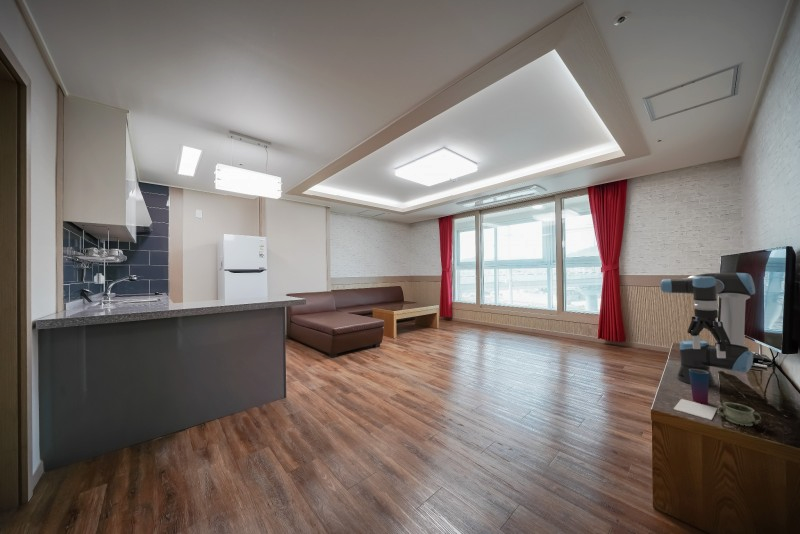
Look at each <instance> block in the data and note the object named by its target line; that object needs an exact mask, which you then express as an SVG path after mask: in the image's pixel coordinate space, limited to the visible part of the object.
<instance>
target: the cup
mask: <svg viewBox="0 0 800 534" xmlns="http://www.w3.org/2000/svg"><path fill="white" fill-rule="evenodd" d="M689 375H690V382H691V384H690V387H691V389H690V390H691V396H692V402H696V403H699V404H701V403H702V404H703V405H707V404H709V387H710V386H709V372H707V371H704V370H699V369H689Z"/></svg>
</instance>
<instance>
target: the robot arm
mask: <svg viewBox="0 0 800 534" xmlns="http://www.w3.org/2000/svg"><path fill="white" fill-rule="evenodd" d="M660 290H661V292H663V293H667V294H689V295H690V294H691V295H692V294H693V305H694V306H693V307H694V316H691V321H690V324H689V325H688V329H687V333H688V334H690V336H691V339H690V340H683V341H680V343H679V357H680V359H679V360H680V367H679V369H678V371H677V373H676V378H677V380H679V381H680V380H681V381H680V382H683V383H685V384H690V385H691V382H690V375H689V369H699V370H704V371H707V372H709V386H708V387H715V386H716V379H715V378H714V376H713V374H712V371H711V367H713V368H718V369H722V370H727V371H732V372H738V373H747V372H749V371H750V370H751V368H752V367H753V361H754V352H753V351H752V350H749V346H747V345H746V344H745V327H746V326H745V325H746V324H745V323H746V318H745V317H746V303H747V301H746V300H748V299H751V295H756V287H755V282H754V279H753V277H752V275H751V274H749V273H746V272H719V273H718V272H714V273H713V272H712V273H711V272H708V273H701V274H700V273H699V274H695V275H694V274H693V275H690V276H688V277H684V278H663V279H662V280H661V281H660ZM717 296H718V297H719V298H720V299H721V301H720V303H721V304H720V306H721V307H720V320H719V321H716V319H717V318H718V317H719V311H718V299H717V298H718V297H717ZM704 329H706V330H707V331H709V332H710V333H711V335H712V337H713V338H714V339H715V342H714V345H711V344H710V343H709V342H708V341H705V340H701V337H700V336H701V335H700V333H701V332H702V331H703V330H704Z"/></svg>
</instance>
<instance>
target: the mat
mask: <svg viewBox="0 0 800 534" xmlns="http://www.w3.org/2000/svg"><path fill="white" fill-rule="evenodd" d="M673 410H674V411H677V412H681V413H684V414H688V415H692V416H695V417H698V418H701V419H705V420H708V421H712V420H713V419H714V416H715V414H716V413H717V411H718V407H714V406H711V405H707V404H701V403H697V402H695V401H693V400H692V401H691V400H687V399H683V398H681V399H679V401H678V403H677V404H676V405H675V406H674V407H673Z"/></svg>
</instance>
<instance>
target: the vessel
mask: <svg viewBox="0 0 800 534" xmlns="http://www.w3.org/2000/svg"><path fill="white" fill-rule="evenodd" d="M721 409H723V411H721ZM717 411H718V413H719V414H720V416H721V417H725V416H726V417H725V420H727V421H728V422H731V423H734V424H736V425H739V424H740V426H744V425H745V427H752V426H754V424H753V422H754V423H755V424H756V425H757V424H759V422H760V421H761V420H762V416H761V415H760V413H758V412H757V411H755V409H754V408H752V407H750V406H747V405H744V404H741V403H738V402H736V403H735V402H730V401H729V402H727V401H726V402H723V405H718V406H717ZM756 416H757V417H758V418H757V419H756Z"/></svg>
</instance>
